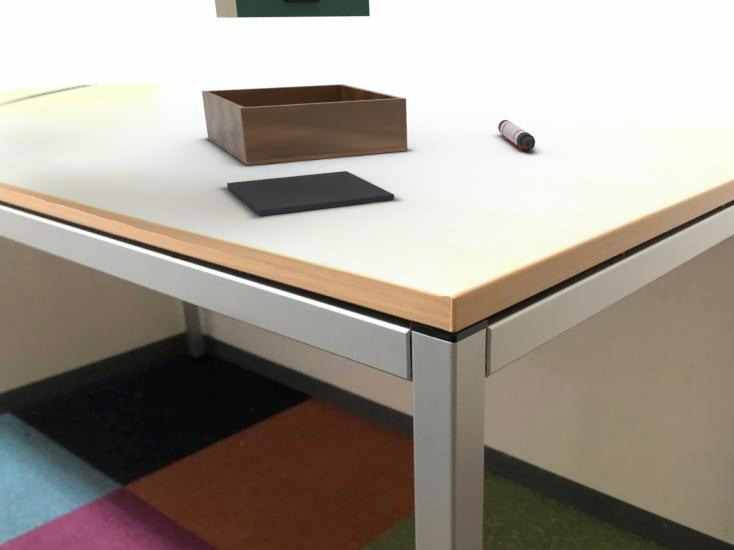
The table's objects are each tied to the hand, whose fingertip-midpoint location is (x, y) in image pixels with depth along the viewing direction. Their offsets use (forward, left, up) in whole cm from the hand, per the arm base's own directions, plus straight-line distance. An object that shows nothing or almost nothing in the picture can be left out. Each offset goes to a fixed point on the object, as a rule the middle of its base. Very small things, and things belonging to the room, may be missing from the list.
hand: (293, 2), depth 62 cm
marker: (-13, +31, -16) cm, 38 cm away
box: (-26, +8, -16) cm, 32 cm away
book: (0, 0, -1) cm, 1 cm away
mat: (+1, 0, -16) cm, 16 cm away
